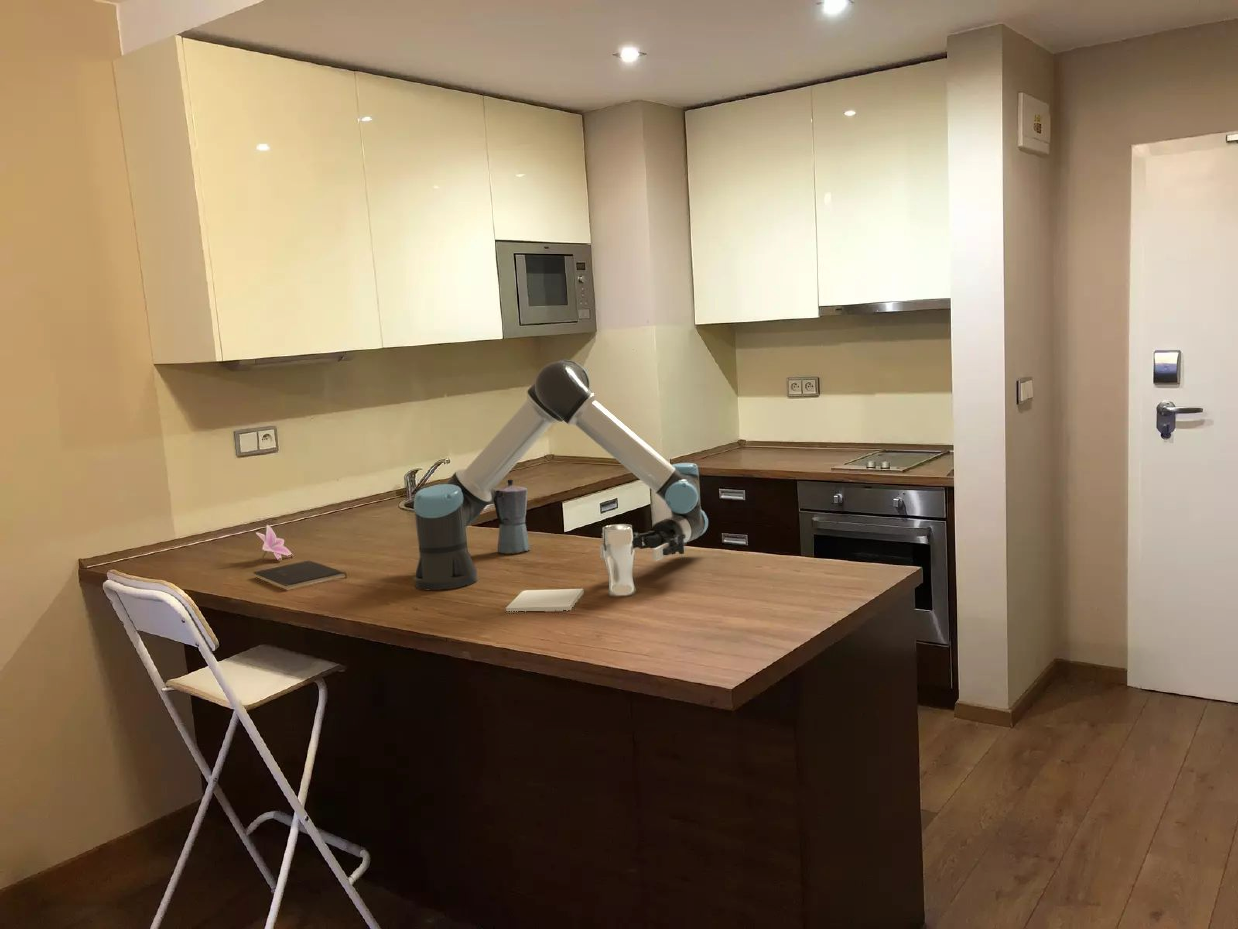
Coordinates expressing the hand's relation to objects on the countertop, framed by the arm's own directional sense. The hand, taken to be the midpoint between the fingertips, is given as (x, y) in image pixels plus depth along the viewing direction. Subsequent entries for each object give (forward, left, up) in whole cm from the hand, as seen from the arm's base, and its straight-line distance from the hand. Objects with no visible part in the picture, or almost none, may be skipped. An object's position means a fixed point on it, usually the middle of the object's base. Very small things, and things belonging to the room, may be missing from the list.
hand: (627, 554), depth 219 cm
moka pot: (-39, +44, -9) cm, 60 cm away
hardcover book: (-91, +22, -9) cm, 95 cm away
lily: (-111, +44, -9) cm, 120 cm away
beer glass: (-1, -2, -9) cm, 9 cm away
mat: (-17, -8, -8) cm, 21 cm away
